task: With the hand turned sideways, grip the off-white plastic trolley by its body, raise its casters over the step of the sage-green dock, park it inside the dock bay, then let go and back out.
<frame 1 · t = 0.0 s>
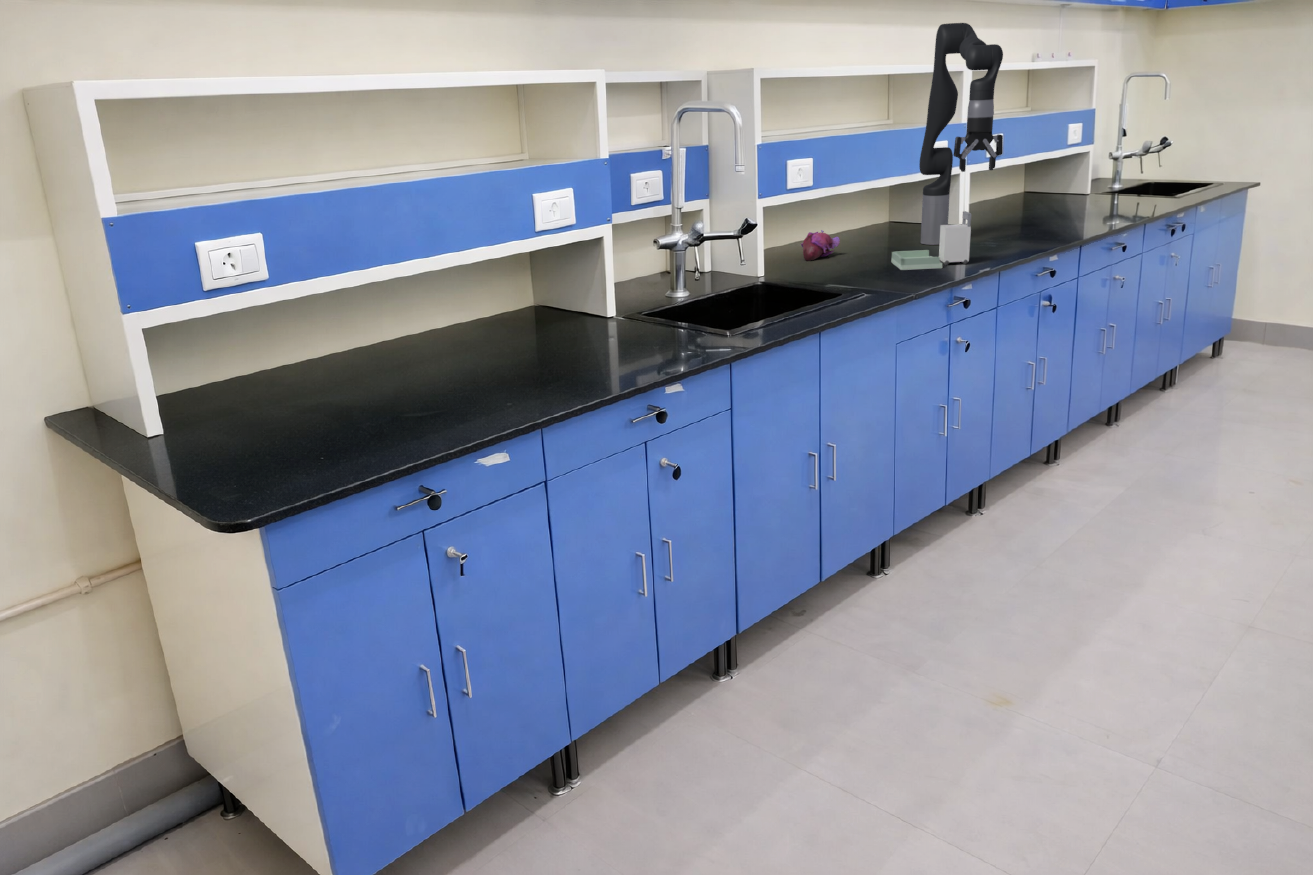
hand: (976, 170, 301), 29 cm above the countertop, fingers open, 8 cm apart
anatomical model: (816, 258, 338), on the countertop
dock bay: (916, 265, 317), on the countertop
trolley: (953, 263, 316), on the countertop
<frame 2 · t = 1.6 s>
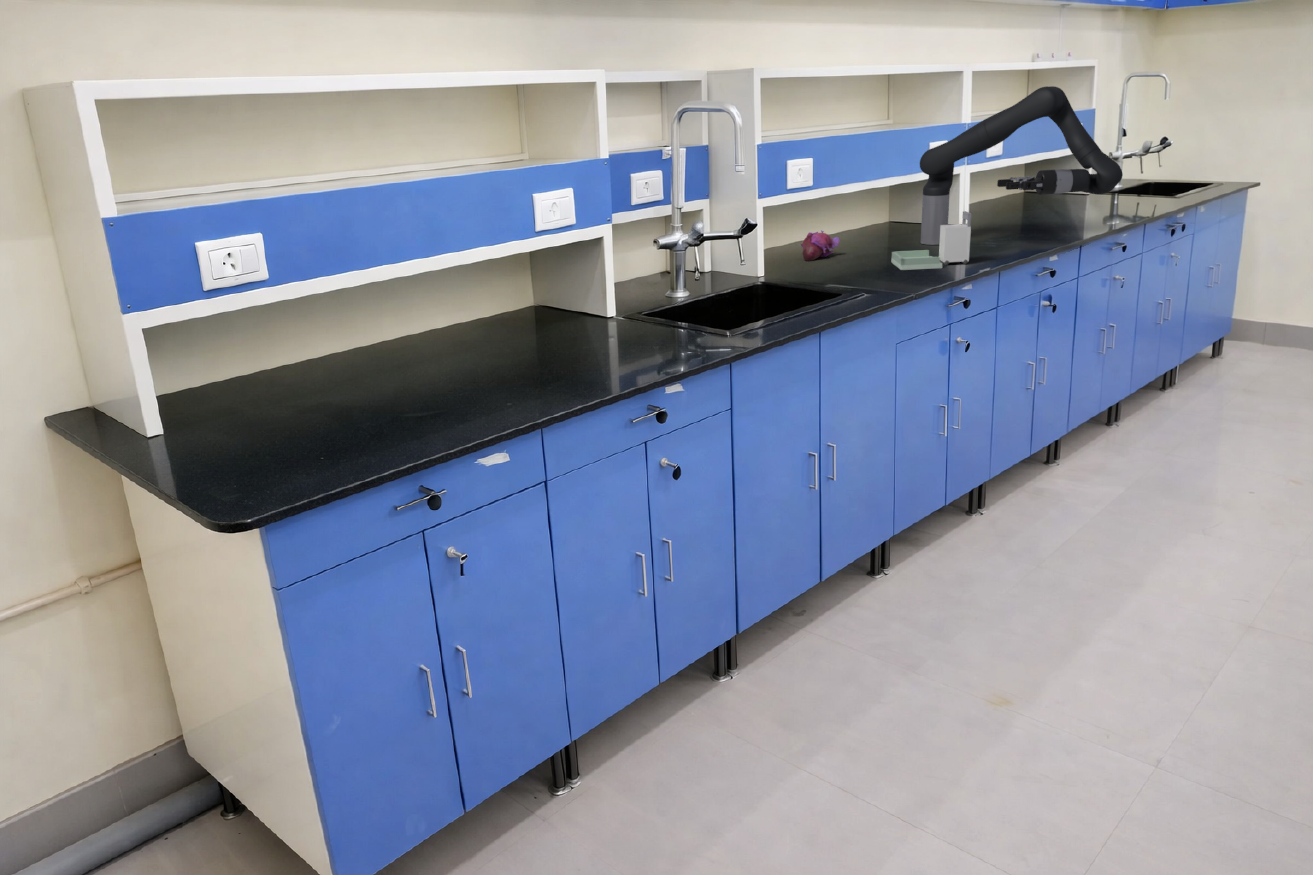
hand: (1001, 184, 308), 24 cm above the countertop, fingers open, 8 cm apart
nothing on the countertop moved.
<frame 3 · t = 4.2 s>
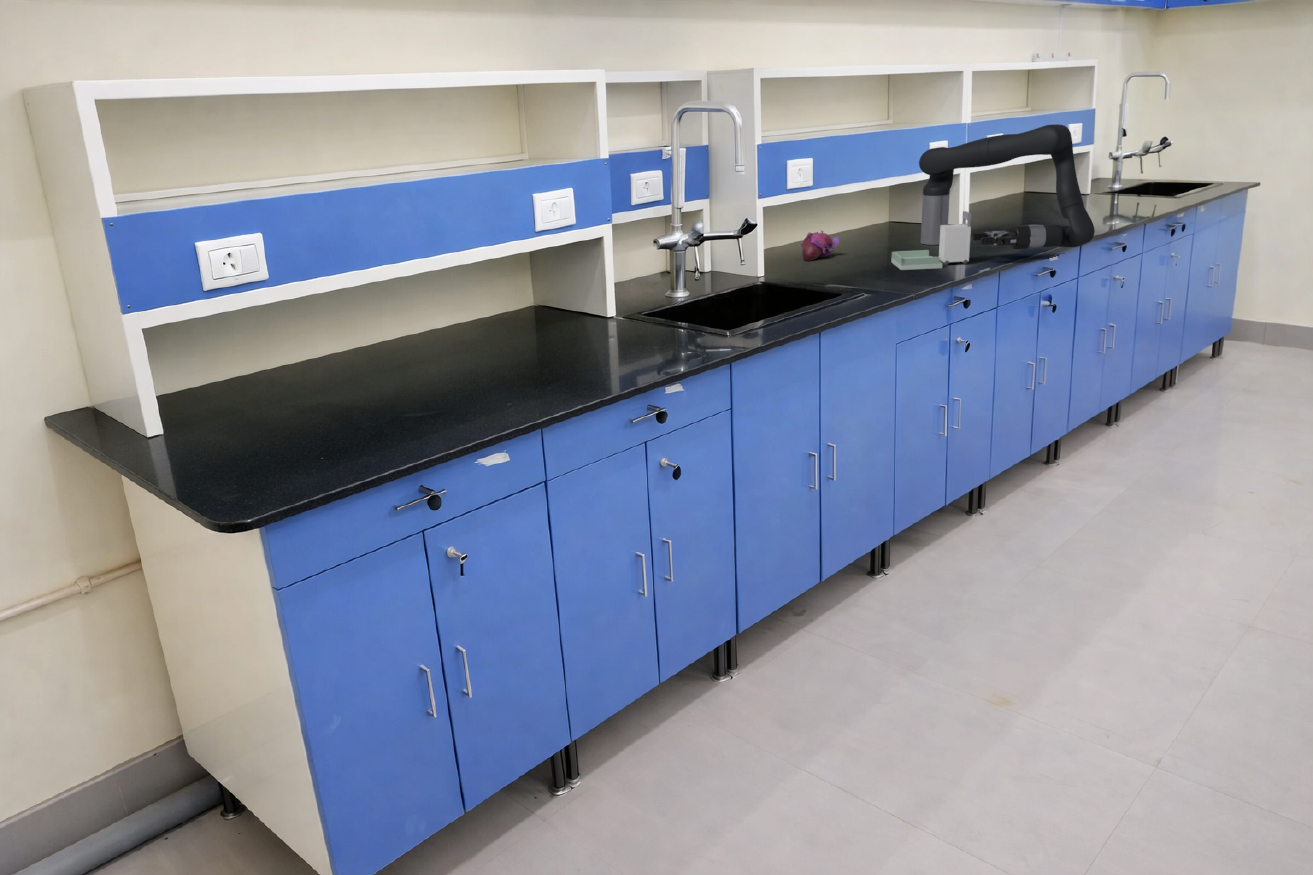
hand: (977, 239, 314), 7 cm above the countertop, fingers open, 8 cm apart
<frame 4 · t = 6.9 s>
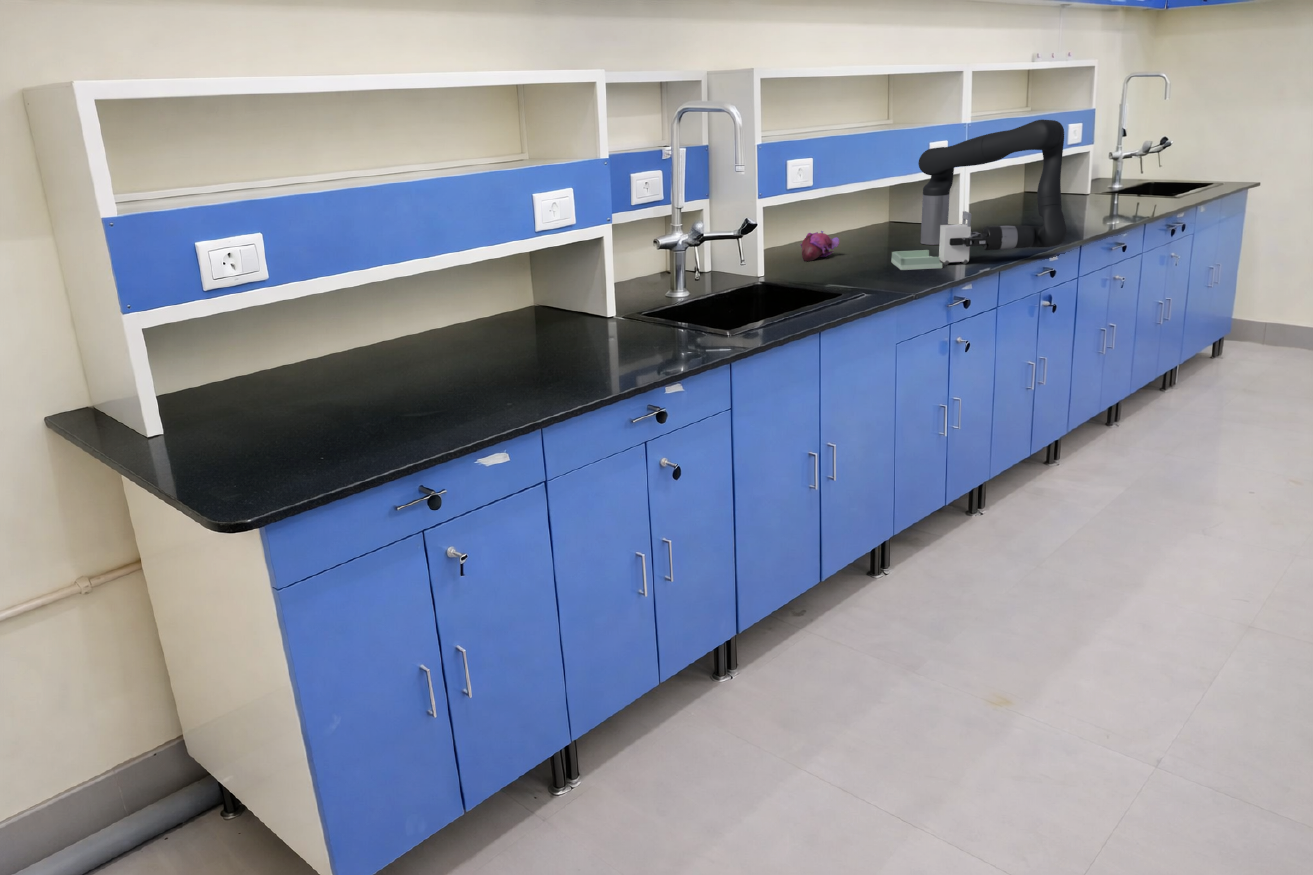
hand: (947, 240, 314), 8 cm above the countertop, fingers closed on trolley, 6 cm apart
trolley: (953, 263, 316), on the countertop, touching gripper
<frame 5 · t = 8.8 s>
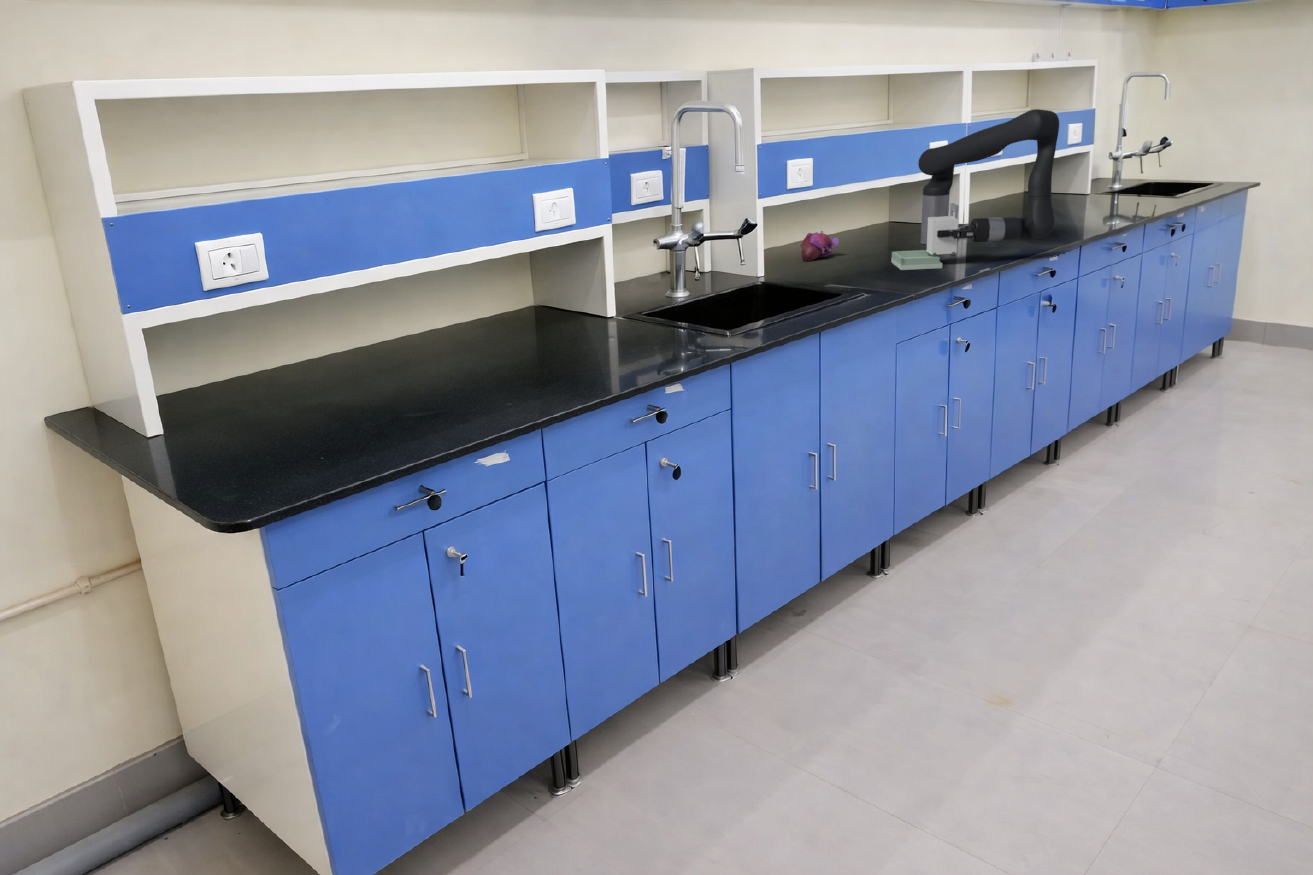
hand: (934, 232, 313), 10 cm above the countertop, fingers closed on trolley, 6 cm apart
trolley: (941, 255, 316), point 3 cm above the countertop, touching gripper
when the fingers open (9 cm above the countertop, at t = 11.1 s): trolley stays where it is, resting on dock bay.
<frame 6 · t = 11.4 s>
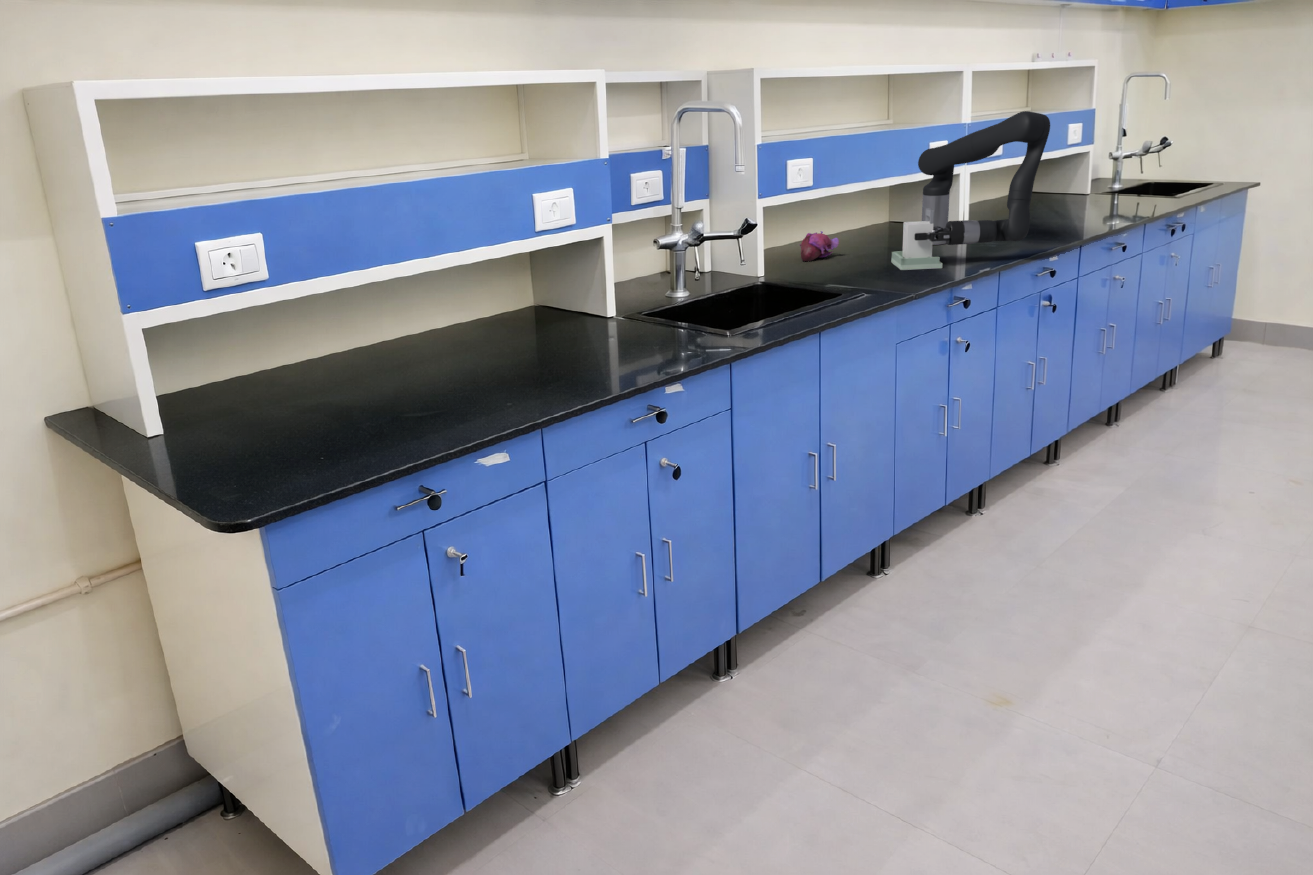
hand: (911, 234, 313), 10 cm above the countertop, fingers open, 8 cm apart
trolley: (916, 260, 316), point 1 cm above the countertop, touching dock bay
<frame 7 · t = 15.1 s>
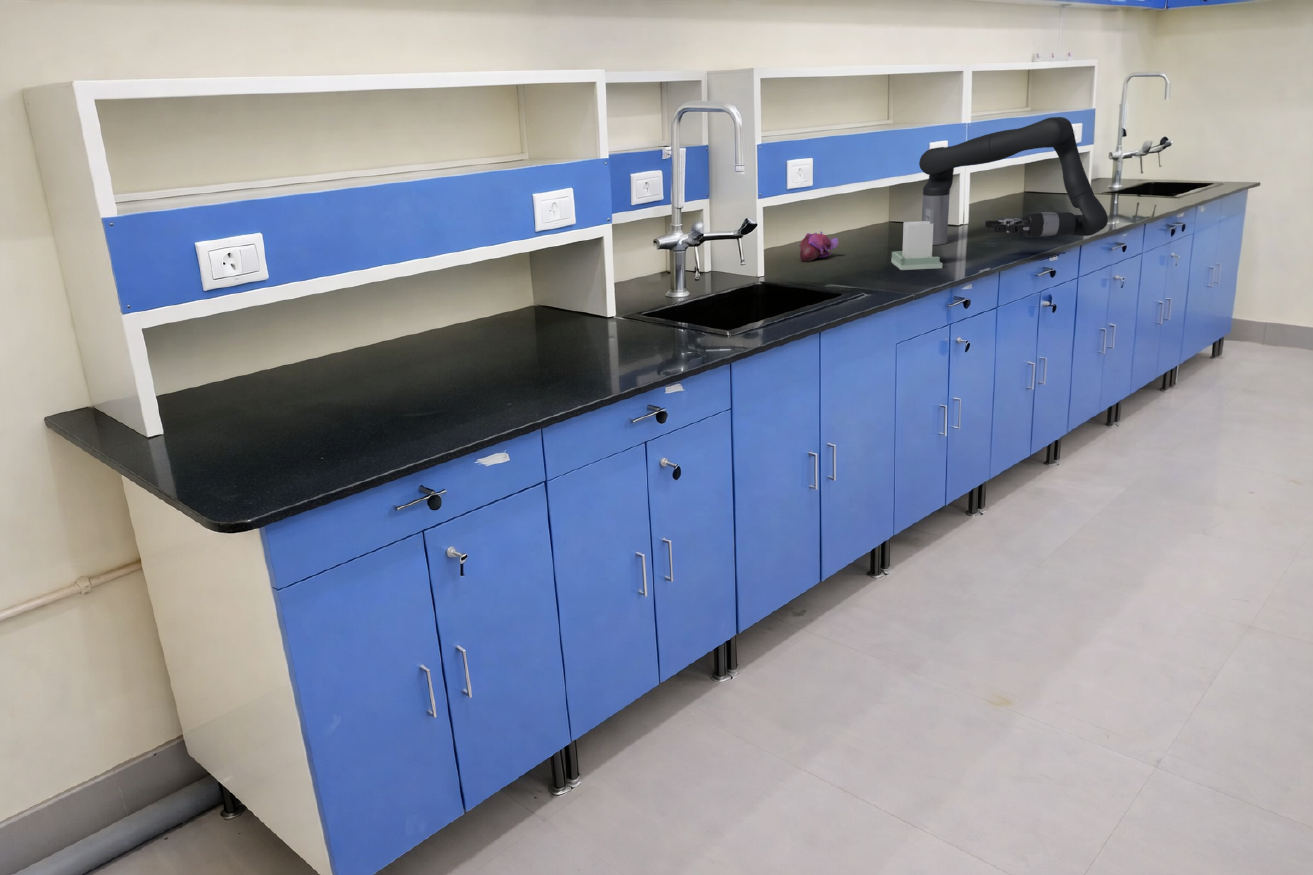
hand: (989, 226, 312), 11 cm above the countertop, fingers open, 8 cm apart
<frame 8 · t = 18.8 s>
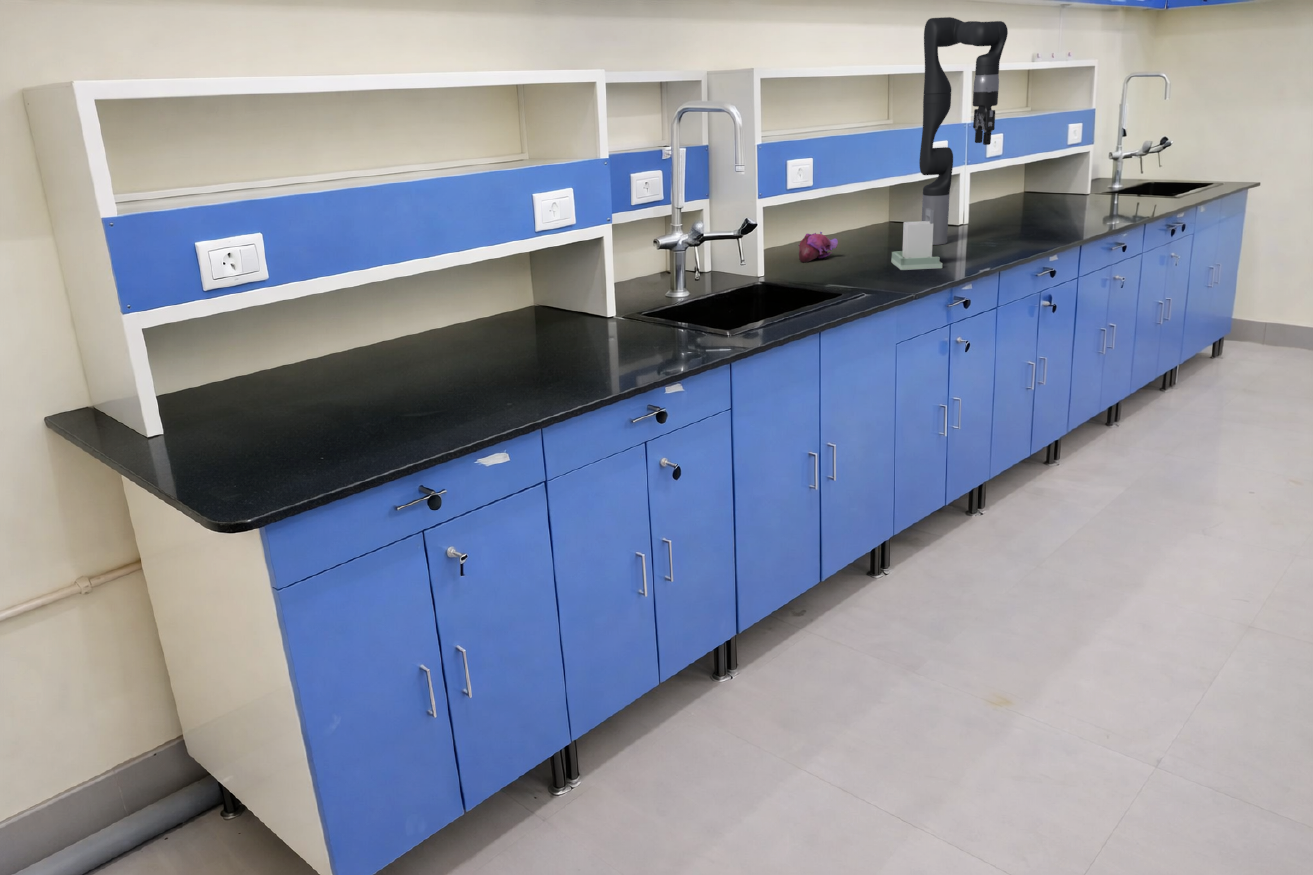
hand: (982, 143, 313), 36 cm above the countertop, fingers open, 8 cm apart
at the end: trolley inside the target area on the dock bay (0.2 cm from its centre), point 1.5 cm above the dock bay's base; trolley tilted 0°; the gripper is holding nothing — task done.
